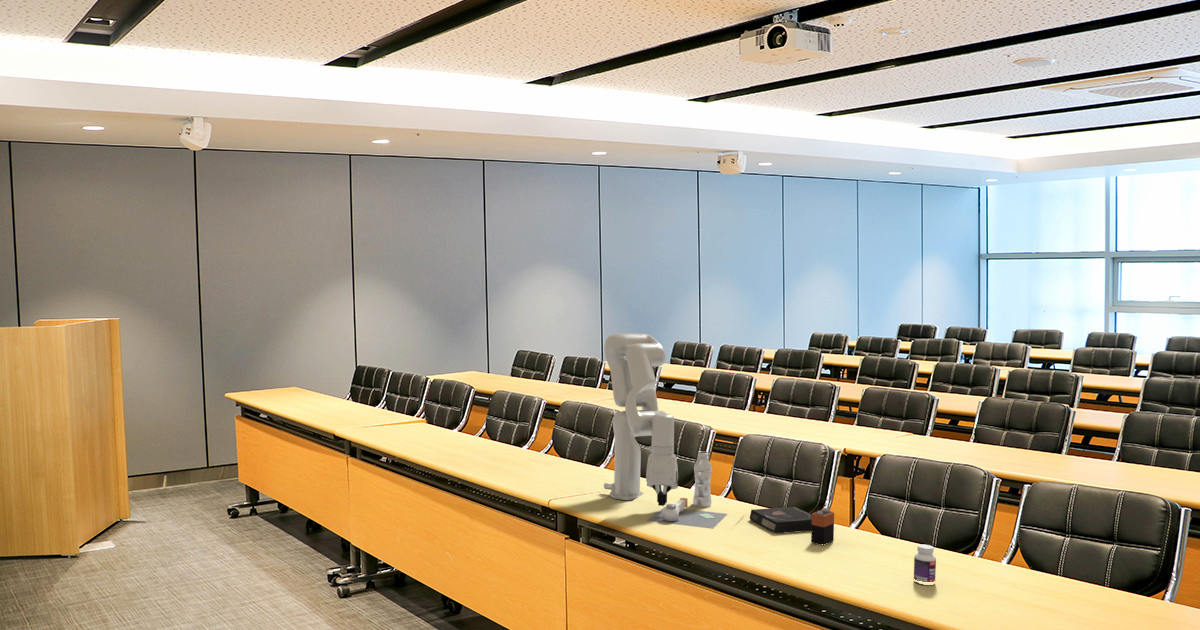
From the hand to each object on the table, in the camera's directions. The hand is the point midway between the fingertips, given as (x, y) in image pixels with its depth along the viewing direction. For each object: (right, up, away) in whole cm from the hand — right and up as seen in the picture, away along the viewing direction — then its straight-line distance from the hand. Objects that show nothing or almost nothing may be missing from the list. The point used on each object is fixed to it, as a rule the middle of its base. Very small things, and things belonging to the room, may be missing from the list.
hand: (662, 504), depth 298 cm
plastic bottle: (+15, -4, +10) cm, 18 cm away
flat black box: (+40, -5, -9) cm, 41 cm away
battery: (+47, -6, -28) cm, 55 cm away
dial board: (+8, -4, -7) cm, 11 cm away
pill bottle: (+65, -7, -64) cm, 91 cm away
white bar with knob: (+5, -2, -5) cm, 7 cm away
